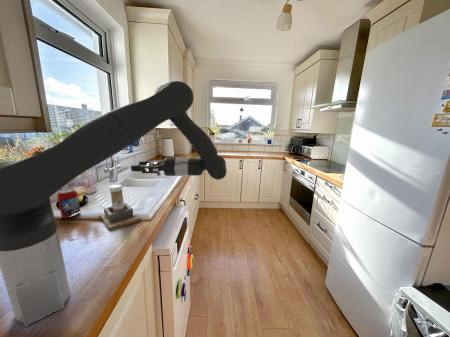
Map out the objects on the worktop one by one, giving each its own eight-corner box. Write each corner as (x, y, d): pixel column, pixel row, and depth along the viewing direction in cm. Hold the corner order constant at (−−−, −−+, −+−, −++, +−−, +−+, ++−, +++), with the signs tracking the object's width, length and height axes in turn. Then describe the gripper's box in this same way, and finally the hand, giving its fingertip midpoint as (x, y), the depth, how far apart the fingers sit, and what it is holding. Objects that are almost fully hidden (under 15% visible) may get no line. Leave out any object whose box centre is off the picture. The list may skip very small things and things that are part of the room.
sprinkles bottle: (117, 218, 80) (113, 188, 77) (111, 215, 83) (107, 186, 79) (127, 213, 84) (124, 185, 81) (121, 211, 86) (118, 183, 83)
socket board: (140, 220, 81) (140, 211, 80) (109, 231, 73) (108, 220, 72) (126, 207, 94) (126, 199, 93) (98, 215, 86) (97, 206, 85)
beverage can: (69, 220, 81) (64, 194, 78) (57, 217, 83) (52, 192, 80) (84, 213, 87) (80, 188, 85) (73, 211, 89) (69, 187, 86)
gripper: (179, 155, 82) (141, 154, 81) (174, 160, 68) (127, 159, 67) (179, 171, 84) (142, 171, 82) (174, 180, 70) (128, 179, 68)
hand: (135, 166), depth 74 cm, fingers open, 8 cm apart
